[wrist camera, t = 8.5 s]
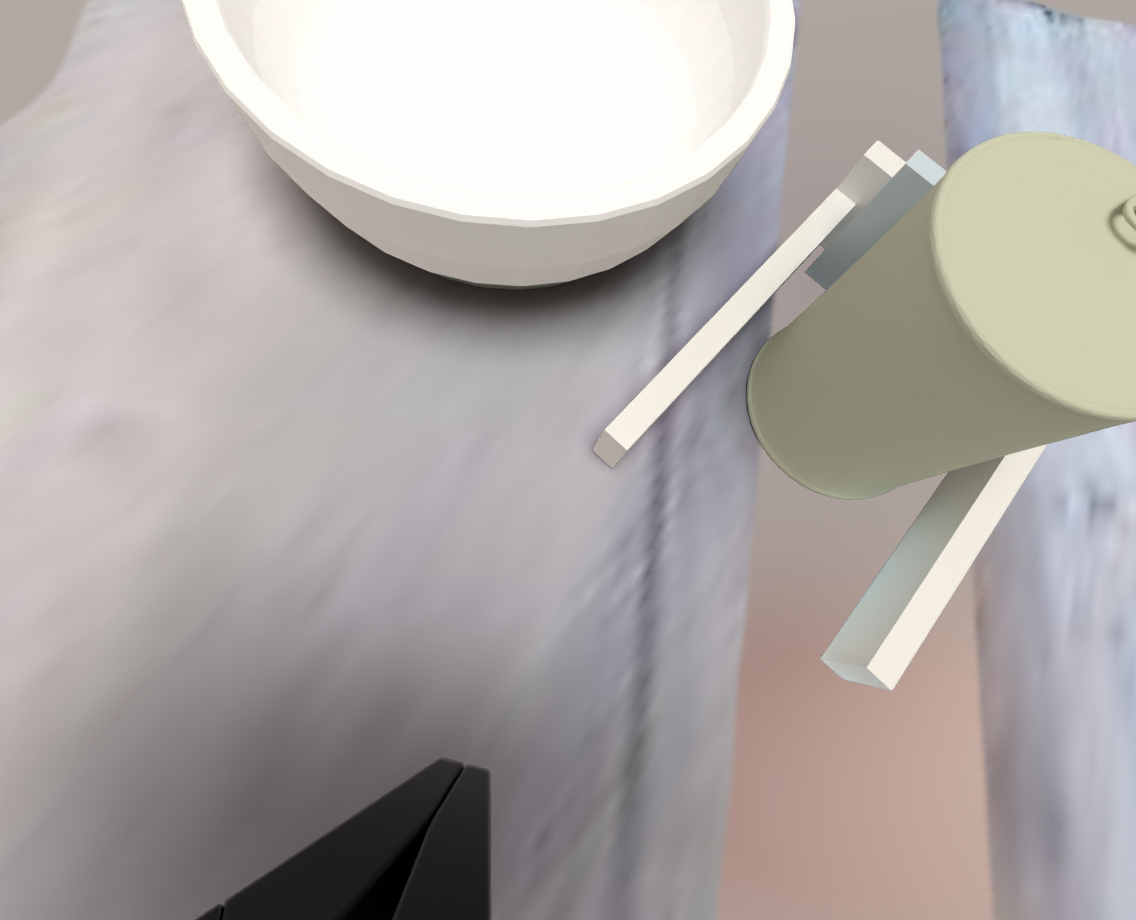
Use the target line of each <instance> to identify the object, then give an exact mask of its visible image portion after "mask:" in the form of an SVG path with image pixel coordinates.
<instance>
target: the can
mask: <svg viewBox="0 0 1136 920" xmlns="http://www.w3.org/2000/svg"><path fill="white" fill-rule="evenodd" d="M747 404H748V412H749V416H750V420H751V424H752V426H753V429H754V432H755V434H756V436H757V438H758V440H759V442H760V443H761V445H762V447H763V449H764V450H765V451H766V453H767V454H768V456H769V457H770V458H771V459H772V461H773V462H774V463H775V464H776V465H777V466H778V467H779V468H780V469H781V470H782V471H783V472H784V473H786V474H787V475H788V476H789V477H791V478H792V479H793V480H795V481H796V482H798V483H799V484H800V485H802V486H804V487H806V488H808V489H810V490H812V491H814V492H817V493H819V494H822V495H826V496H829V497H834V498H838V499H848V500H854V499H865V498H872V497H876V496H879V495H882V494H884V493H887V492H889V491H891V490H893V489H895V488H896V487H898V486H902V485H905V484H908V483H911V482H915V481H918V480H921V479H925V478H928V477H932V476H935V475H938V474H941V473H945V472H949V471H952V470H956V469H960V468H963V467H967V466H970V465H974V464H977V463H981V462H984V461H988V460H991V459H995V458H999V457H1002V456H1006V455H1009V454H1013V453H1016V452H1020V451H1024V450H1027V449H1031V448H1035V447H1038V446H1042V445H1046V444H1050V443H1053V442H1057V441H1061V440H1064V439H1068V438H1072V437H1076V436H1079V435H1083V434H1087V433H1090V432H1094V431H1098V430H1102V429H1105V428H1109V427H1113V426H1117V425H1121V424H1125V423H1130V422H1134V421H1136V166H1135V165H1133V164H1132V163H1130V162H1128V161H1127V160H1125V159H1123V158H1122V157H1120V156H1118V155H1116V154H1114V153H1112V152H1110V151H1108V150H1106V149H1104V148H1102V147H1100V146H1097V145H1094V144H1092V143H1089V142H1086V141H1084V140H1080V139H1077V138H1073V137H1069V136H1065V135H1060V134H1055V133H1047V132H1019V133H1011V134H1006V135H1002V136H998V137H995V138H992V139H990V140H987V141H985V142H982V143H980V144H979V145H977V146H975V147H974V148H972V149H970V150H969V151H967V152H966V153H965V154H963V155H962V156H961V157H960V158H959V159H958V160H957V161H956V162H955V163H954V164H953V165H952V166H951V167H950V168H949V169H948V170H947V172H946V173H945V175H944V176H943V177H942V178H941V179H940V180H939V181H938V182H937V183H936V184H935V185H934V186H933V187H932V188H931V189H930V190H929V191H928V192H927V193H926V194H925V195H924V196H923V197H922V198H921V199H920V200H919V201H918V202H917V203H916V204H915V205H914V206H913V207H912V208H911V209H910V210H909V211H908V212H907V213H906V214H905V215H904V216H903V217H902V218H901V219H900V220H899V221H898V222H897V223H896V224H895V225H894V226H893V227H892V228H891V229H889V230H888V231H887V232H886V233H885V234H884V235H883V236H882V237H881V238H880V239H879V240H878V241H877V242H876V243H875V244H874V245H873V246H872V247H871V248H870V249H869V250H868V251H867V252H866V253H865V254H864V255H863V256H862V257H861V258H860V259H859V260H858V261H857V262H855V263H854V264H853V265H852V266H851V267H850V268H849V269H848V270H847V271H846V272H845V273H844V274H843V275H842V276H841V277H840V278H839V279H838V280H837V281H836V282H835V283H834V284H833V285H832V286H830V287H829V288H828V289H827V290H826V291H825V292H824V293H823V294H822V295H821V296H820V297H819V298H818V299H817V300H816V301H815V302H814V303H812V304H811V305H810V306H809V307H808V308H807V309H806V310H805V311H804V312H803V313H802V314H801V315H800V316H798V317H797V318H796V319H795V320H794V321H793V322H792V323H791V324H790V325H788V326H787V327H785V328H784V329H782V330H781V331H779V332H777V333H776V334H775V335H774V336H772V337H771V338H770V339H769V340H768V341H767V342H766V343H765V344H764V345H763V347H762V348H761V349H760V351H759V352H758V354H757V356H756V358H755V360H754V362H753V364H752V367H751V370H750V373H749V378H748V384H747Z"/></svg>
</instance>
